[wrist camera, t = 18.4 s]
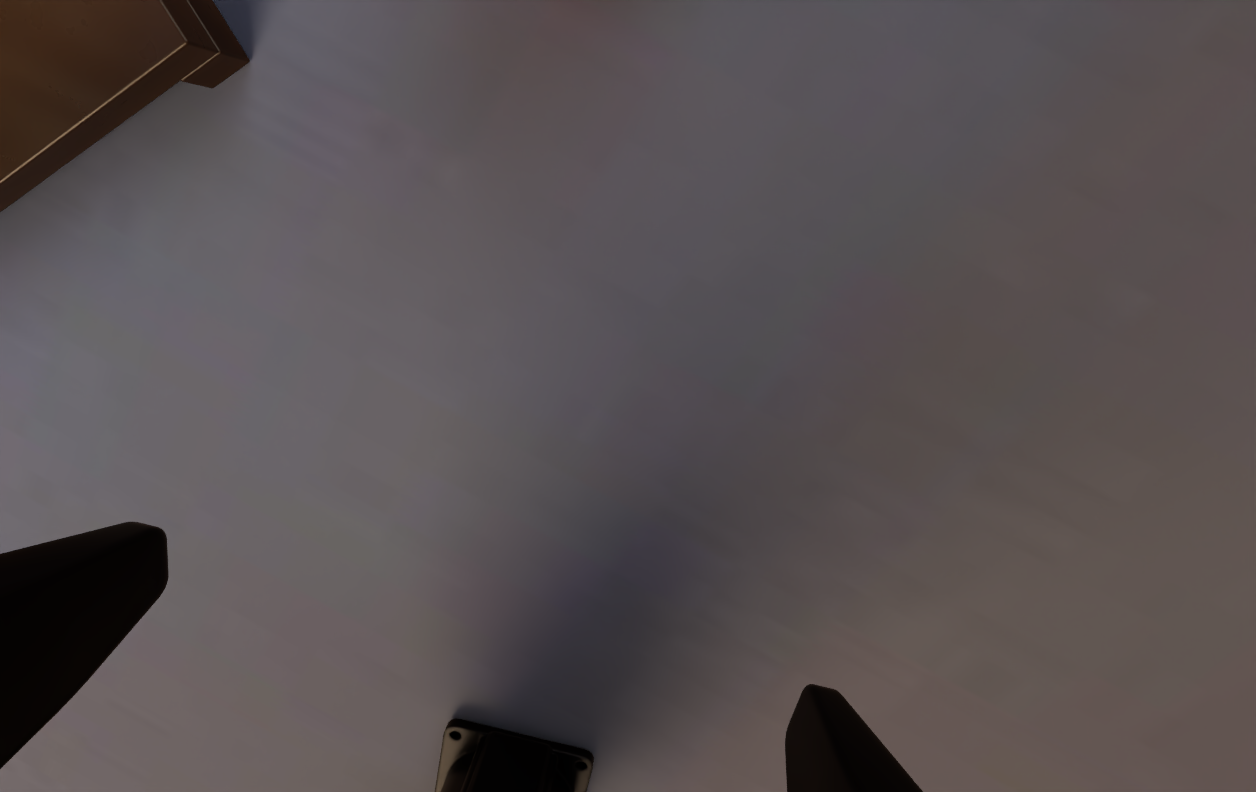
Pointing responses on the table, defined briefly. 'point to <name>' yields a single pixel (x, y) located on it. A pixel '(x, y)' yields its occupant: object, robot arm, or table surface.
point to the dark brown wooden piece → (95, 73)
